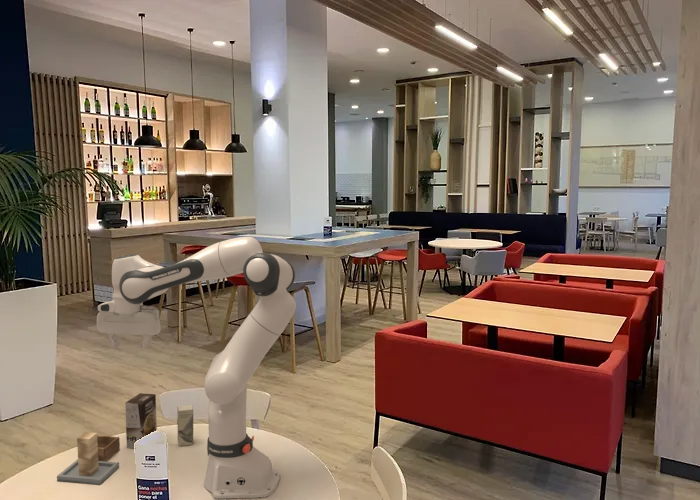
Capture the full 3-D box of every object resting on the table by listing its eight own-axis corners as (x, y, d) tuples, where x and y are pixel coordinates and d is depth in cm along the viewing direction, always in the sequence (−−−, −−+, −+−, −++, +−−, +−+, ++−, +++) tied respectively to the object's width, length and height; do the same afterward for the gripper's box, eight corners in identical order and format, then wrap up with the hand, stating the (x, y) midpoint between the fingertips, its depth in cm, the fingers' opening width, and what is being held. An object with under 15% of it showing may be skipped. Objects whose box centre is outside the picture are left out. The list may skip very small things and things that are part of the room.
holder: (119, 449, 181) (119, 437, 180) (105, 462, 173) (105, 448, 172) (97, 447, 182) (96, 435, 181) (82, 460, 174) (81, 447, 173)
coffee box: (143, 449, 181) (141, 404, 179) (126, 447, 182) (124, 402, 180) (157, 437, 190) (156, 393, 188) (141, 435, 191) (139, 392, 189)
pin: (98, 469, 167) (97, 433, 165) (91, 476, 163) (89, 439, 162) (86, 468, 167) (85, 432, 166) (78, 475, 164) (76, 438, 162)
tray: (118, 467, 169) (118, 462, 169) (100, 484, 160) (100, 479, 159) (77, 463, 171) (77, 459, 171) (57, 481, 161) (56, 476, 161)
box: (178, 446, 183) (177, 411, 181) (177, 441, 187) (176, 406, 185) (194, 444, 185) (193, 408, 183) (193, 438, 189) (192, 403, 187)
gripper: (163, 304, 172) (164, 345, 174) (104, 301, 175) (106, 342, 176) (154, 308, 166) (155, 351, 168) (92, 305, 168) (94, 348, 170)
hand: (129, 347), depth 172 cm, fingers open, 8 cm apart
